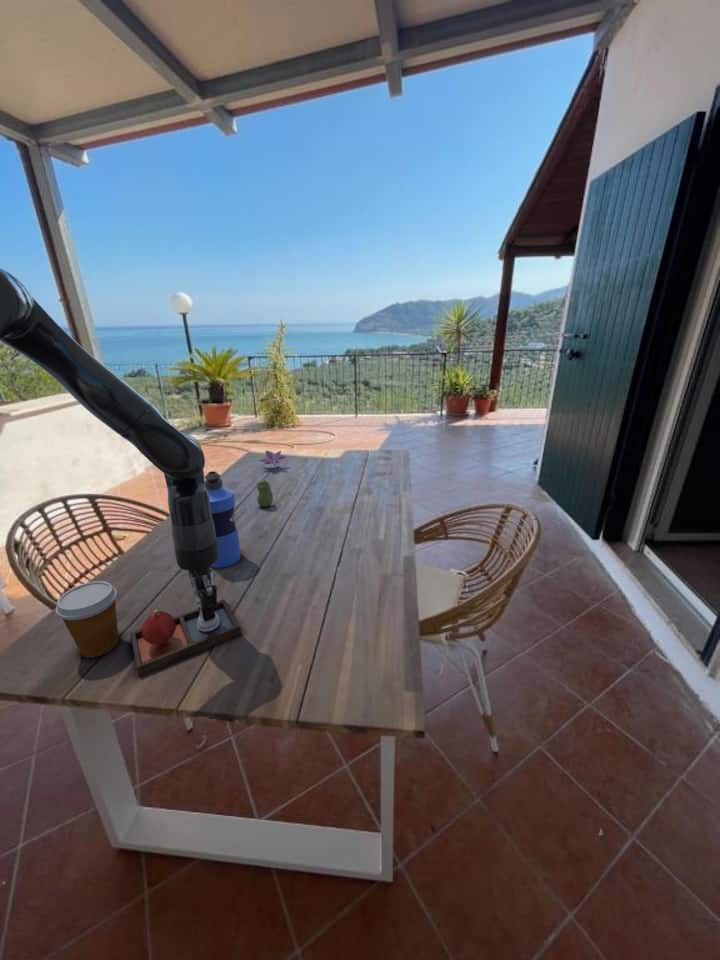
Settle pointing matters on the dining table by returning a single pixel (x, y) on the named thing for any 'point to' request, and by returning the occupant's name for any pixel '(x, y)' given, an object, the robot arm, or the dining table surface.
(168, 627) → the pomegranate
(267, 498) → the pear
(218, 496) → the water bottle
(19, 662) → the dining table surface
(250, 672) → the dining table surface
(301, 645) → the dining table surface
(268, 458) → the lily
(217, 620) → the rook chess piece
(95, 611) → the disposable coffee cup
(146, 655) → the tray
